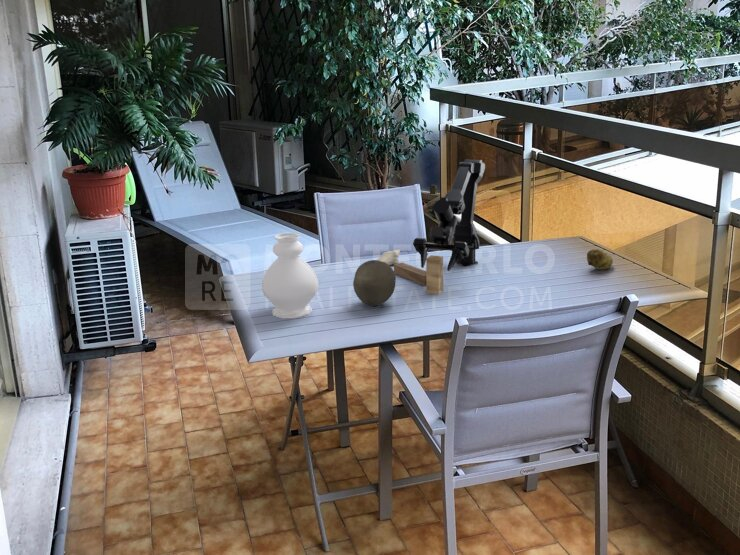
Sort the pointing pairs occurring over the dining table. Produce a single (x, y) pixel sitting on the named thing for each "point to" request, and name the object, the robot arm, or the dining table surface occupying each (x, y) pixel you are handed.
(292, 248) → the decorative vase
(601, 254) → the olive green oval lump
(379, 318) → the dining table surface
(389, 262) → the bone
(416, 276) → the brown wooden bar
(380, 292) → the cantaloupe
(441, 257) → the oak post
